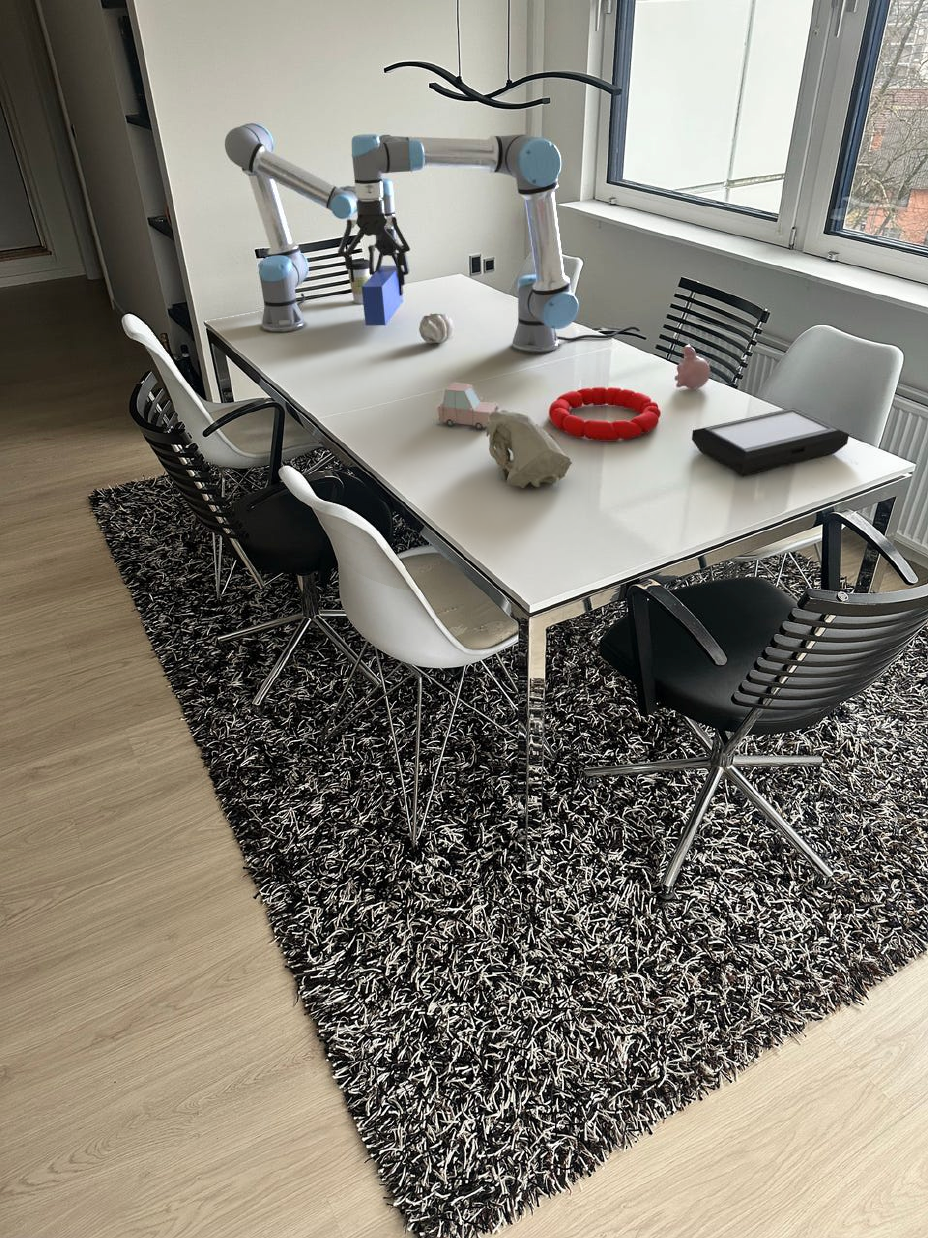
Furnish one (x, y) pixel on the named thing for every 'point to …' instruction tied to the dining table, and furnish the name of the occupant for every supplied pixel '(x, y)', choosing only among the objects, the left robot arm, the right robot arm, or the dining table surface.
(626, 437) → the decorative ring
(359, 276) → the coffee cup
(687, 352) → the figurine
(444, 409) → the toy car
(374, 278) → the box
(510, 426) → the animal skull
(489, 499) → the dining table surface
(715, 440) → the electronic device
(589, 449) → the dining table surface
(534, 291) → the right robot arm
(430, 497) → the dining table surface
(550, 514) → the dining table surface
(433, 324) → the seashell
